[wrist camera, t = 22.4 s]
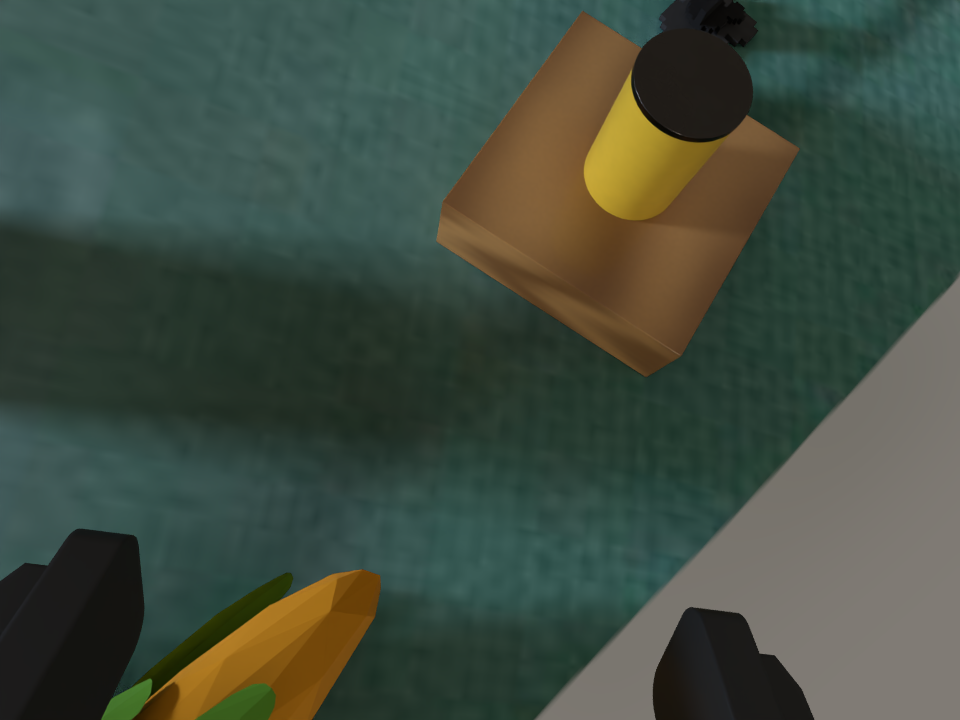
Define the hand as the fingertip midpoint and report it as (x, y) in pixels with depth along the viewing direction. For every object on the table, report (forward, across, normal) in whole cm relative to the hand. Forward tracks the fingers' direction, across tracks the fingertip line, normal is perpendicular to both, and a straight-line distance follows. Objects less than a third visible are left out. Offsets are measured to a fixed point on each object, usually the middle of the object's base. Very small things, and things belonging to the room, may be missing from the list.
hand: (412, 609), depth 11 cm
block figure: (+44, -14, -6) cm, 46 cm away
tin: (+29, -9, +1) cm, 31 cm away
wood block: (+33, -9, +4) cm, 34 cm away
